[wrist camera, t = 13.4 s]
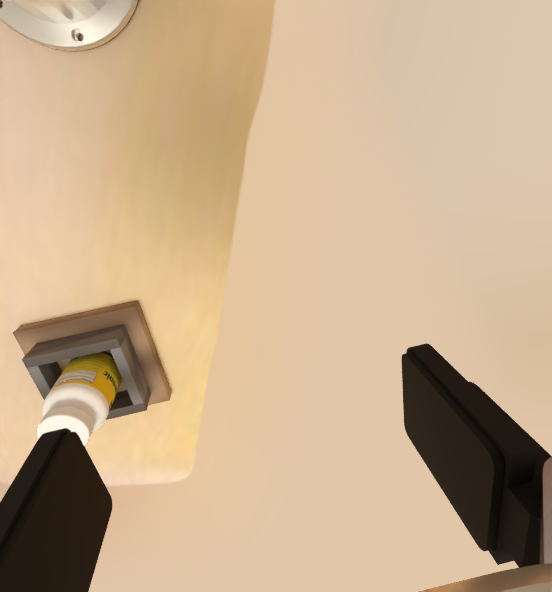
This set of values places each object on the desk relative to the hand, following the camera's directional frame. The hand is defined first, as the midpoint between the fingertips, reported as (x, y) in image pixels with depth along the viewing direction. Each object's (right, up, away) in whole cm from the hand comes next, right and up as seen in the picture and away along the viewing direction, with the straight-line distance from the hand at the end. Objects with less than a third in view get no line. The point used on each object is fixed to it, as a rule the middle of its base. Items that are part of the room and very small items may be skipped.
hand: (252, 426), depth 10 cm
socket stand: (-18, -3, +30) cm, 35 cm away
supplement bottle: (-18, -4, +28) cm, 34 cm away
